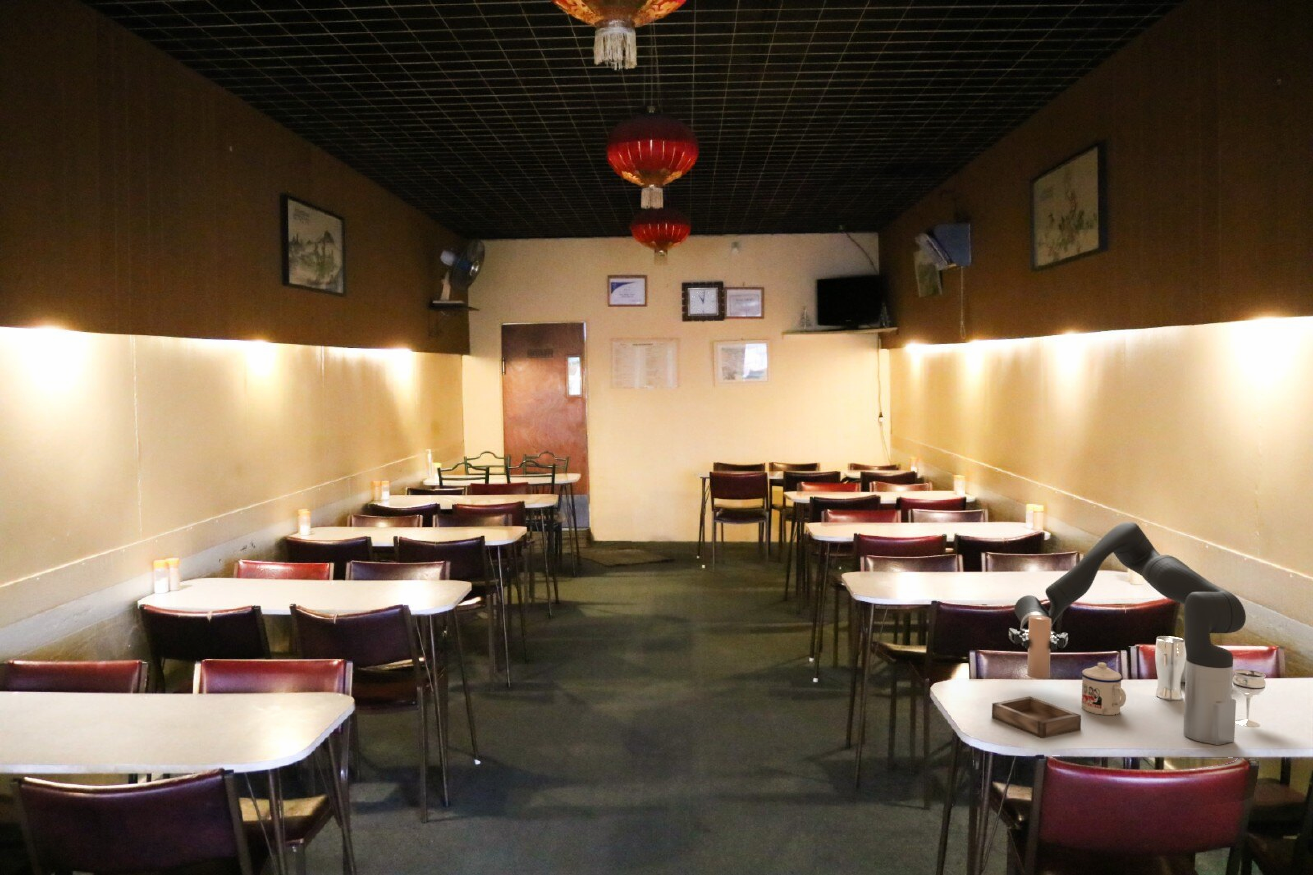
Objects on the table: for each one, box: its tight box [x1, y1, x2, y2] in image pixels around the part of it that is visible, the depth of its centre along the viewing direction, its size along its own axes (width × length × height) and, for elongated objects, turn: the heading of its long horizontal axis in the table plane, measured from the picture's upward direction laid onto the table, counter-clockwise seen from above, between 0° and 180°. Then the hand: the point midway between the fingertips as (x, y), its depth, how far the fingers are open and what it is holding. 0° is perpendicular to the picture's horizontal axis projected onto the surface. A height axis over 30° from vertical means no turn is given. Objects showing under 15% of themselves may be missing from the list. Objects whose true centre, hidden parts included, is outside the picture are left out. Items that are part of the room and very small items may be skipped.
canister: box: [1026, 616, 1051, 680], centre depth 232 cm, size 5×5×14 cm
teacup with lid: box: [1081, 661, 1127, 716], centre depth 236 cm, size 12×9×12 cm
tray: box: [991, 695, 1082, 739], centre depth 227 cm, size 15×12×4 cm
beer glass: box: [1154, 635, 1186, 701], centre depth 248 cm, size 7×7×15 cm
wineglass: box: [1232, 668, 1267, 728], centre depth 228 cm, size 7×7×12 cm
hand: (1040, 645), depth 229 cm, fingers closed on canister, 5 cm apart
